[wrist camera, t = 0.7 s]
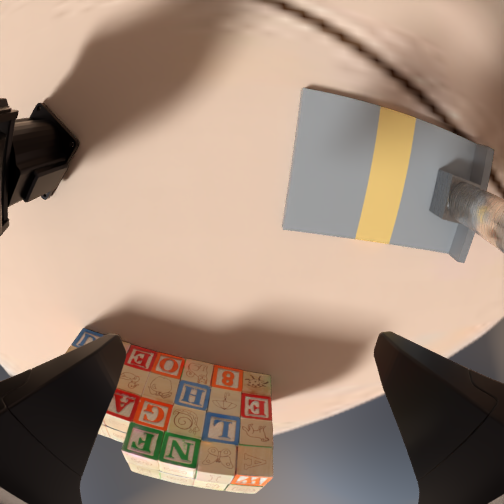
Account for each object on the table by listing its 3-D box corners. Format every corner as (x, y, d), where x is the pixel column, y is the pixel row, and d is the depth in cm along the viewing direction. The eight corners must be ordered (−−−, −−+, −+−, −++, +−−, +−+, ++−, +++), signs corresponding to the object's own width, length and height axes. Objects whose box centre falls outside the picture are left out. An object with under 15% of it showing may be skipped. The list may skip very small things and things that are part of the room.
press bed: (282, 225, 21) (284, 238, 19) (301, 89, 17) (307, 84, 14) (450, 250, 21) (464, 262, 19) (476, 145, 17) (494, 150, 15)
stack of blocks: (90, 361, 29) (50, 437, 18) (83, 325, 26) (29, 407, 15) (258, 404, 31) (256, 496, 19) (272, 373, 28) (274, 480, 17)
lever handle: (428, 210, 19) (519, 278, 9) (438, 169, 17) (541, 215, 8) (457, 218, 19) (543, 281, 9) (467, 179, 17) (562, 227, 8)
